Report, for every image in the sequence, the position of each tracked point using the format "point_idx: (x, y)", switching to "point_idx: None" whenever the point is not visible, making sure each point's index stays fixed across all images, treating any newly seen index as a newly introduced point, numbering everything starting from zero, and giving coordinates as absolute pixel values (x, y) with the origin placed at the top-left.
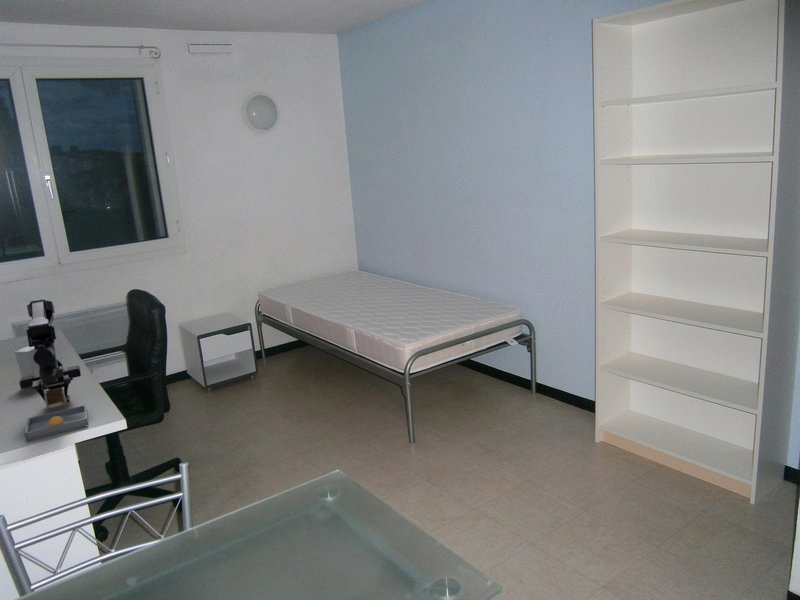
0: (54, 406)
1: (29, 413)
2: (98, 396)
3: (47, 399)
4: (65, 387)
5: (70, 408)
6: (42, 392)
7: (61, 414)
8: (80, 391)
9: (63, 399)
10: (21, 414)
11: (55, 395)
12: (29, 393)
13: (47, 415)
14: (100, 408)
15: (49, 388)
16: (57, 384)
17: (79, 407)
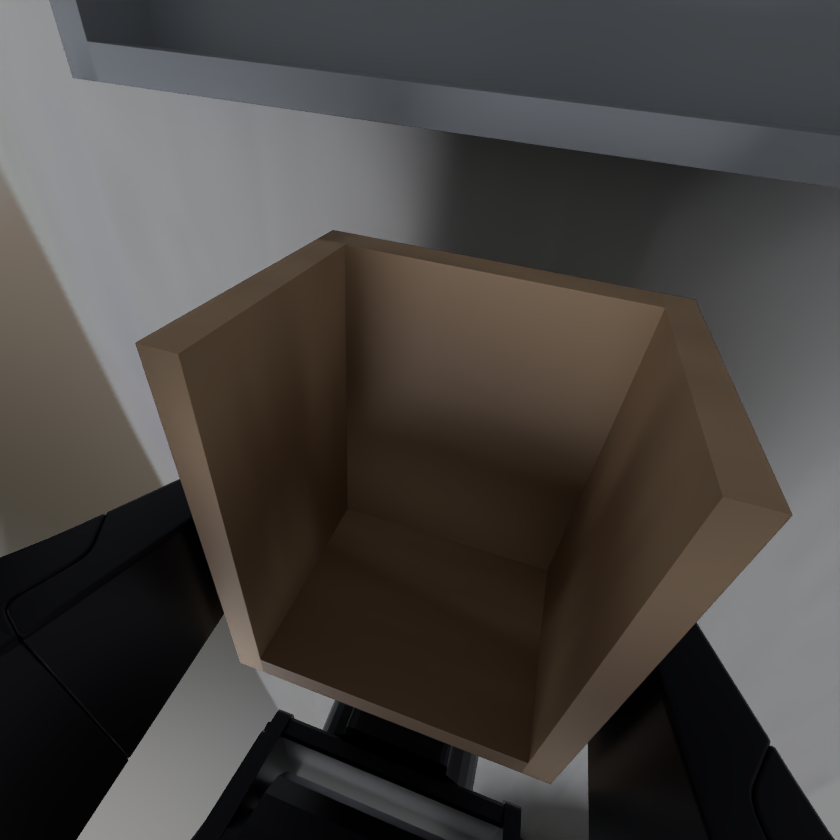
0: (541, 275)
1: (735, 615)
2: (168, 461)
3: (603, 532)
4: (94, 562)
5: (299, 83)
6: (713, 794)
7: (491, 89)
8: None
9: (363, 468)
10: (801, 655)
11: (430, 600)
12: (563, 819)
13: (756, 123)
14: (16, 34)
15: (459, 787)
16: (371, 783)
17: (171, 51)
